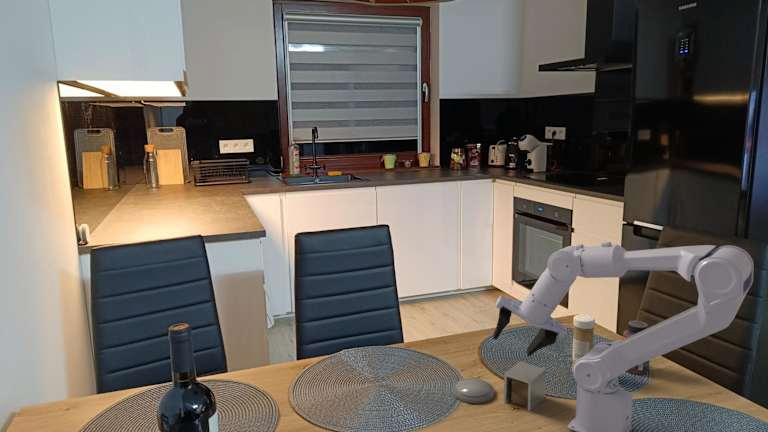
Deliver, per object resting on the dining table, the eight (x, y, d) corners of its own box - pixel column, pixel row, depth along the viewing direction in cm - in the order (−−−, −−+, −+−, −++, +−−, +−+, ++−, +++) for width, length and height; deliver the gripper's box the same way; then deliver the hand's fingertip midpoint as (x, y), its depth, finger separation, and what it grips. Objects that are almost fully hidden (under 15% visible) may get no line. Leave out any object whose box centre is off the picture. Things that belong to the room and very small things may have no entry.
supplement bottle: (614, 366, 126) (617, 321, 124) (633, 361, 128) (636, 316, 126) (636, 377, 121) (639, 330, 119) (654, 372, 123) (658, 325, 121)
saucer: (501, 390, 116) (501, 385, 116) (480, 408, 110) (480, 402, 109) (465, 378, 122) (465, 373, 122) (443, 394, 115) (443, 389, 115)
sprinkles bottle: (596, 373, 123) (599, 318, 120) (583, 379, 120) (586, 322, 118) (579, 366, 127) (582, 312, 124) (566, 371, 124) (569, 316, 122)
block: (537, 399, 113) (538, 376, 112) (528, 407, 110) (529, 384, 109) (520, 393, 115) (521, 371, 114) (511, 401, 112) (511, 379, 111)
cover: (544, 397, 113) (545, 368, 112) (529, 411, 108) (530, 382, 107) (519, 389, 117) (519, 361, 116) (503, 402, 112) (504, 373, 111)
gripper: (577, 302, 109) (543, 347, 115) (511, 270, 109) (481, 317, 116) (579, 323, 102) (543, 369, 109) (509, 290, 103) (478, 338, 110)
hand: (511, 344), depth 112 cm, fingers open, 7 cm apart
